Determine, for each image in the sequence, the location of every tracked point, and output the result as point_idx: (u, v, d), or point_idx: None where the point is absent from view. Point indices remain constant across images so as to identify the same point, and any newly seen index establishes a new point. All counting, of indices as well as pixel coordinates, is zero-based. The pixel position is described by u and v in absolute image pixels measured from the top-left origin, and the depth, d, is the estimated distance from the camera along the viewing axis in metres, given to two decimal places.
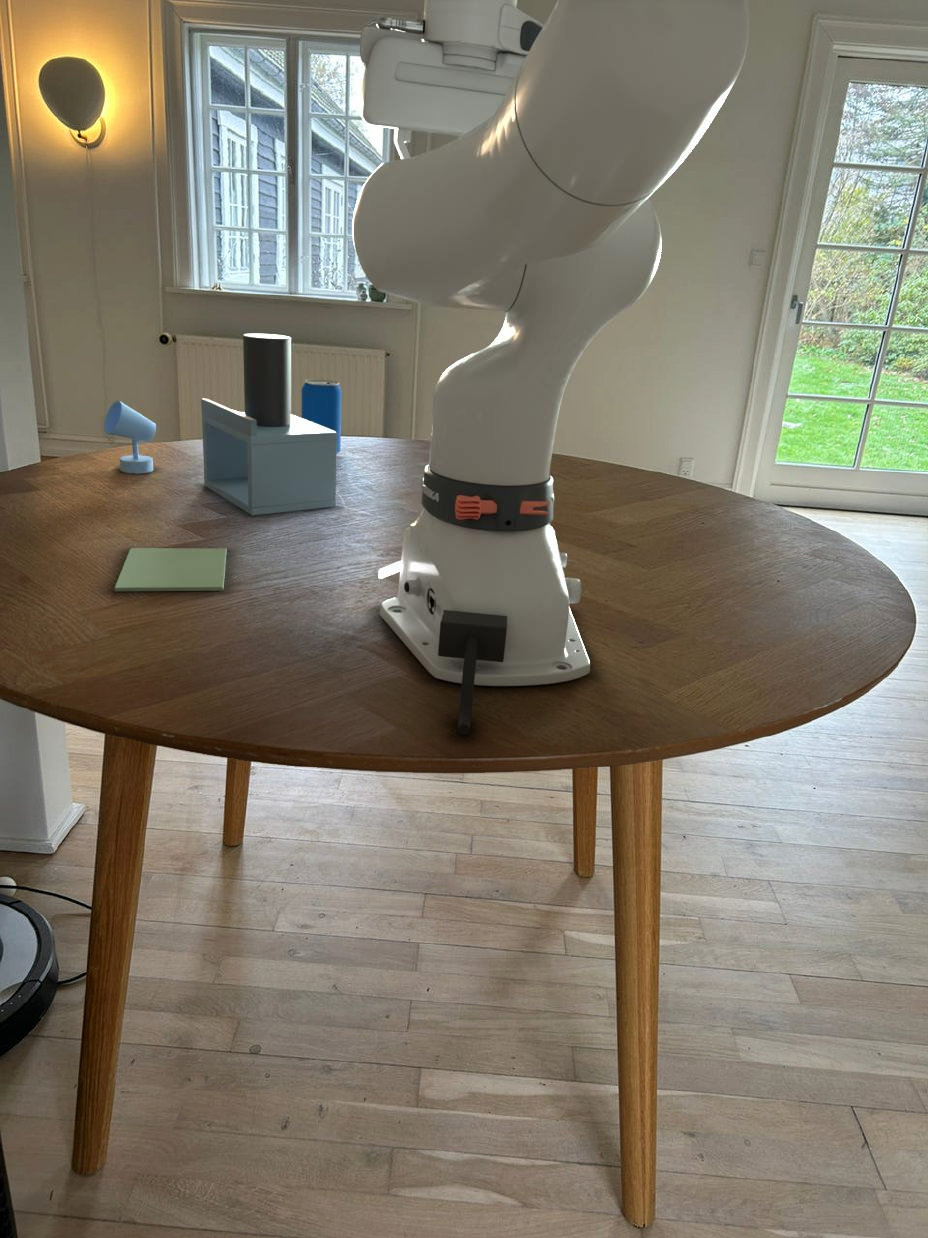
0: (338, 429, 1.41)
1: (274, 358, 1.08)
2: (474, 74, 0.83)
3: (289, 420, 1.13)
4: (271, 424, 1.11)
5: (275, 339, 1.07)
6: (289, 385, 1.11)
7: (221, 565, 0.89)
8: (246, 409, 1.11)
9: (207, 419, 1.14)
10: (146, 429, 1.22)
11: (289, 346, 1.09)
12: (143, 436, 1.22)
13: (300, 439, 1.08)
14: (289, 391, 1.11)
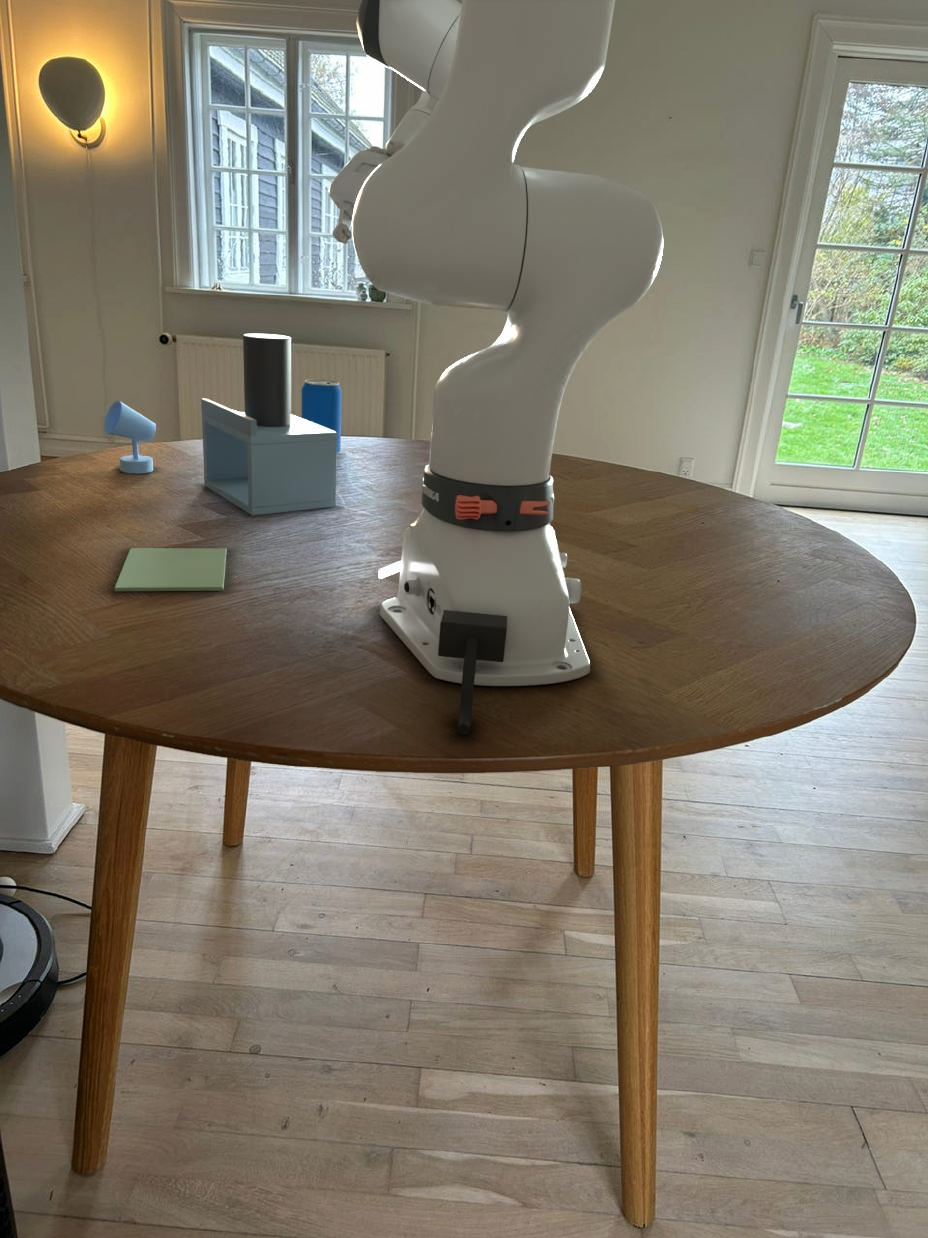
0: (338, 429, 1.41)
1: (274, 358, 1.08)
2: None
3: (289, 420, 1.13)
4: (271, 424, 1.11)
5: (275, 339, 1.07)
6: (289, 385, 1.11)
7: (221, 565, 0.89)
8: (246, 409, 1.11)
9: (207, 419, 1.14)
10: (146, 429, 1.22)
11: (289, 346, 1.09)
12: (143, 436, 1.22)
13: (300, 439, 1.08)
14: (289, 391, 1.11)
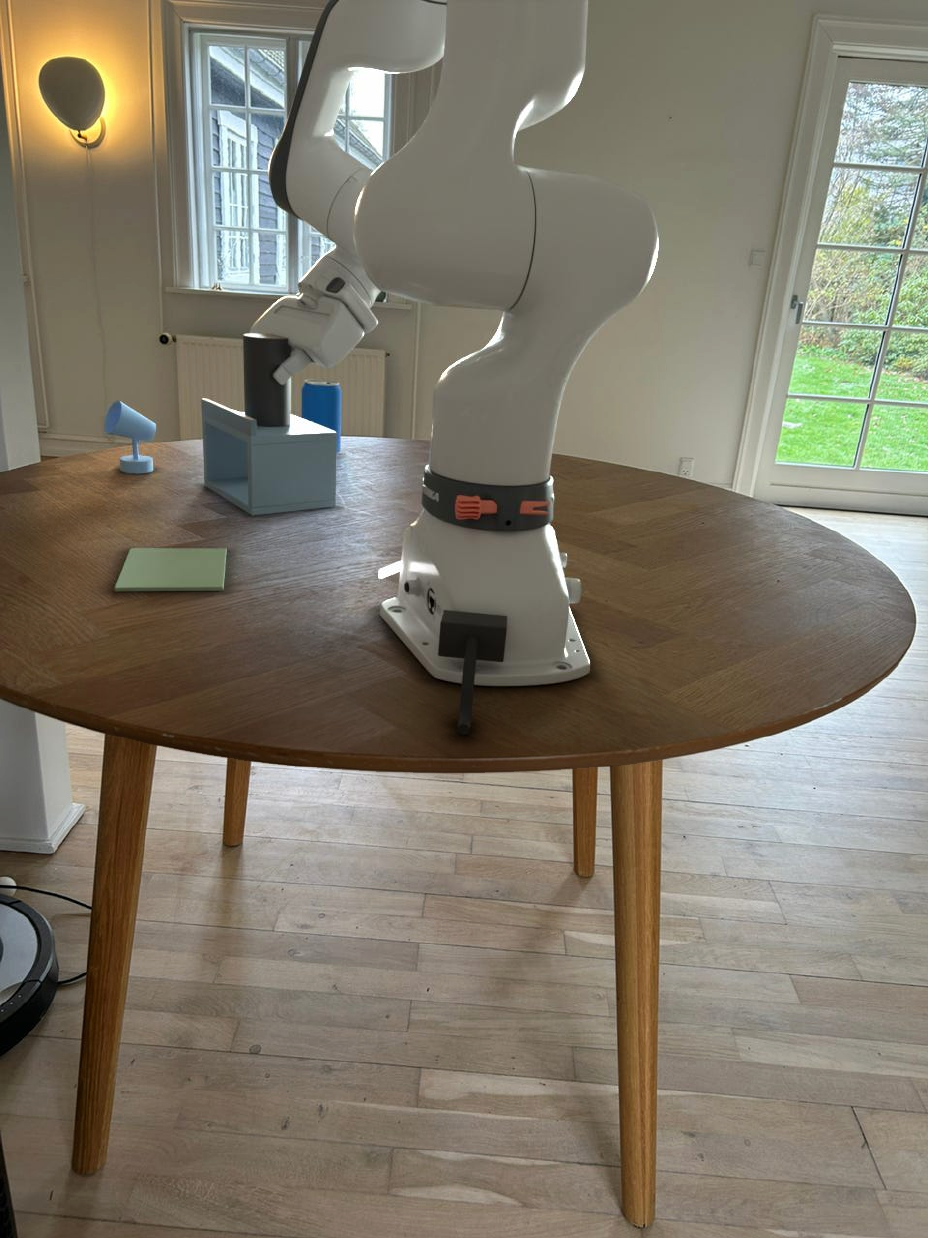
0: (338, 429, 1.41)
1: (274, 358, 1.08)
2: (307, 312, 1.10)
3: (289, 420, 1.13)
4: (271, 424, 1.11)
5: (275, 339, 1.07)
6: (289, 385, 1.11)
7: (221, 565, 0.89)
8: (246, 409, 1.11)
9: (207, 419, 1.14)
10: (146, 429, 1.22)
11: (289, 346, 1.09)
12: (143, 436, 1.22)
13: (300, 439, 1.08)
14: (289, 391, 1.11)
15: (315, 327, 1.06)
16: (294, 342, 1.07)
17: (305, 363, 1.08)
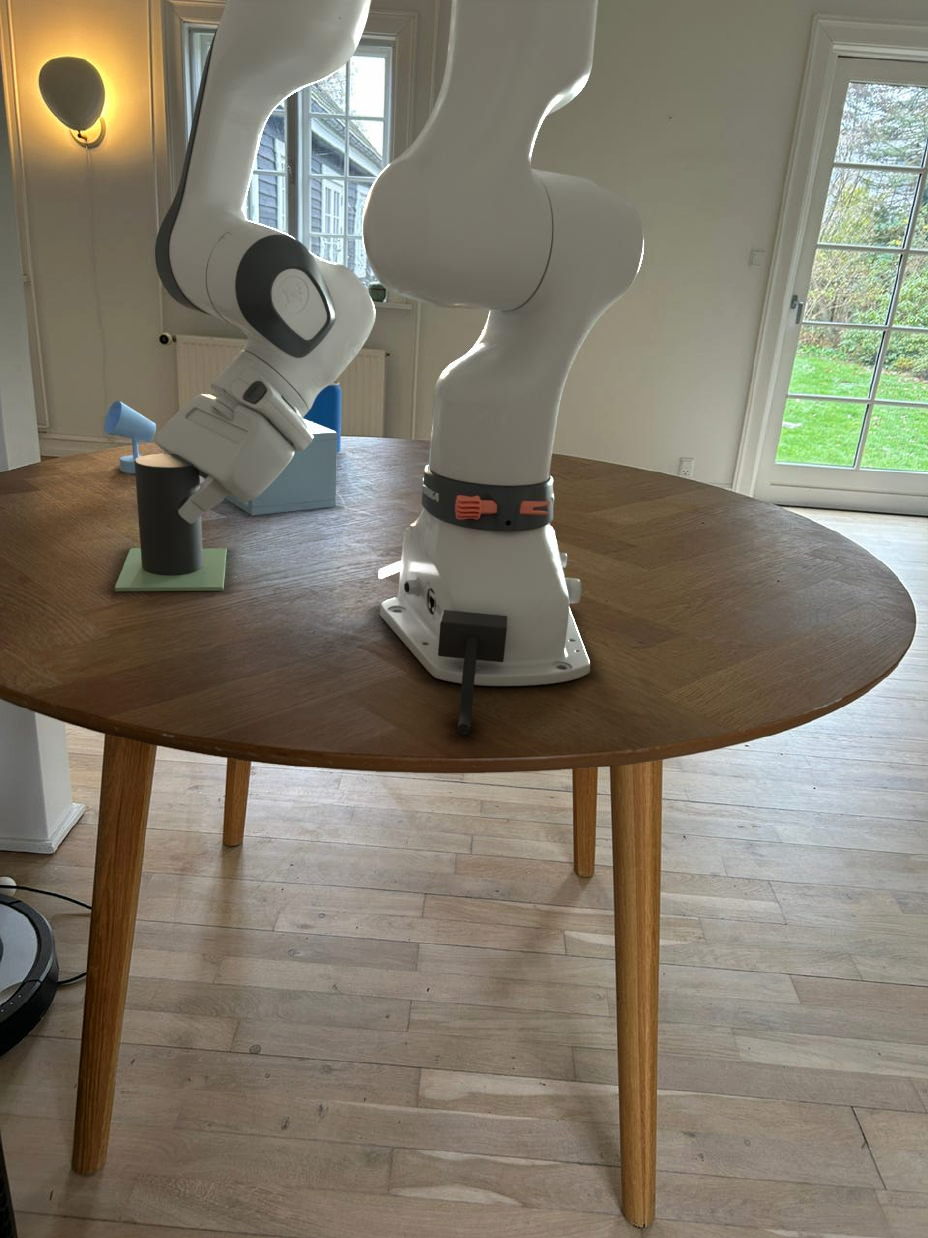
0: (338, 429, 1.41)
1: (175, 491, 0.82)
2: (222, 422, 0.85)
3: (199, 564, 0.87)
4: (174, 572, 0.85)
5: (175, 468, 0.82)
6: (198, 521, 0.86)
7: (221, 565, 0.89)
8: (142, 552, 0.86)
9: None
10: (146, 429, 1.22)
11: (195, 474, 0.84)
12: (143, 436, 1.22)
13: None
14: (198, 529, 0.86)
15: (227, 449, 0.80)
16: (202, 466, 0.81)
17: (221, 496, 0.81)
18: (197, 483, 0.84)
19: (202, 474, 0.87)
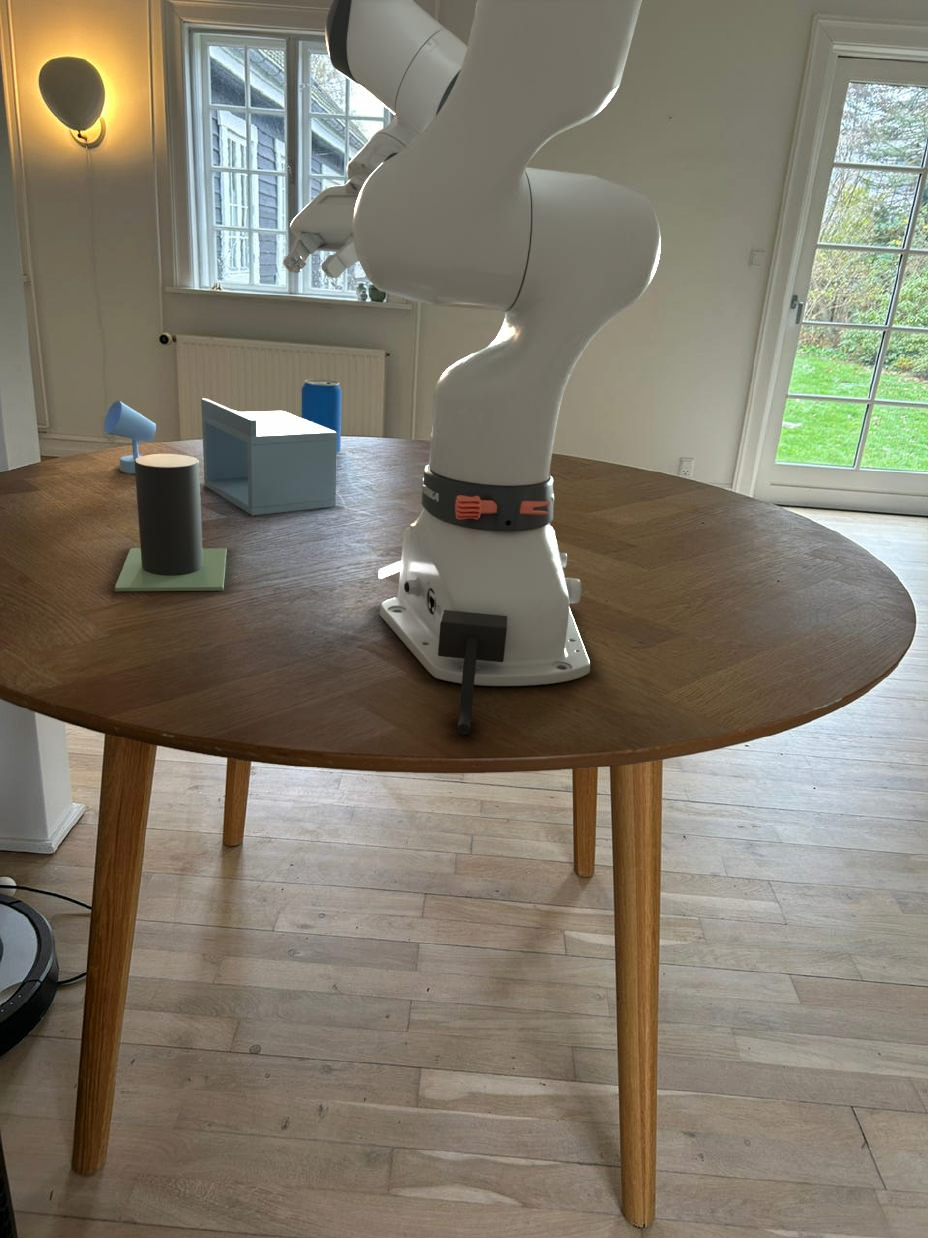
0: (338, 429, 1.41)
1: (175, 491, 0.82)
2: (358, 197, 0.97)
3: (199, 564, 0.87)
4: (174, 572, 0.85)
5: (175, 468, 0.82)
6: (198, 521, 0.86)
7: (221, 565, 0.89)
8: (142, 552, 0.86)
9: (207, 419, 1.14)
10: (146, 429, 1.22)
11: (195, 474, 0.84)
12: (143, 436, 1.22)
13: (300, 439, 1.08)
14: (198, 529, 0.86)
15: None
16: (345, 227, 0.93)
17: None
18: (197, 483, 0.84)
19: (337, 248, 0.99)
